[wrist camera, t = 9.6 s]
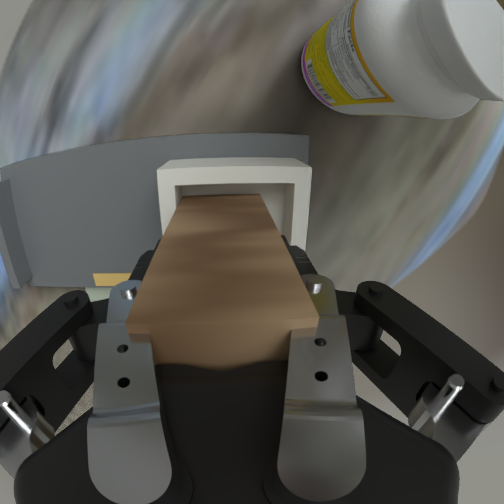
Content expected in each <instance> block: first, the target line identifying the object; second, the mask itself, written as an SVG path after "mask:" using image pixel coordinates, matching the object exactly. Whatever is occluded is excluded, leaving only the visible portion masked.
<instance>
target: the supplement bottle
mask: <svg viewBox="0 0 504 504" xmlns="http://www.w3.org/2000/svg"><path fill="white" fill-rule="evenodd" d="M301 67H302V73H303V76H304V79H305V81H306V84H307V85H308V87H309V89H310V90H311V92H312V93H313V94H314V95H315V97H316V98H317V99H318V100H320V101H321V102H322V103H323V104H324V105H326V106H327V107H329V108H331V109H333V110H335V111H337V112H340V113H344V114H349V115H384V116H405V117H418V118H428V119H440V120H447V119H454V118H457V117H460V116H462V115H464V114H466V113H467V112H469V111H470V110H471V109H472V108H473V107H474V106H475V105H476V104H477V102H478V101H479V99H482V100H492V101H504V10H503V9H502V7H501V6H500V5H499V3H498V2H497V1H496V0H353V1H352V2H350V3H349V4H348V5H347V6H345V7H344V8H343V9H342V10H340V11H339V12H338V13H337V14H336V15H335V16H333V17H332V18H331V19H330V20H329V21H328V22H326V23H325V24H324V25H323V26H322V27H321V28H320V29H319V30H317V31H316V32H315V33H314V34H313V35H312V36H311V37H310V38H309V40H308V41H307V43H306V44H305V46H304V49H303V52H302V57H301Z"/></svg>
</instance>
